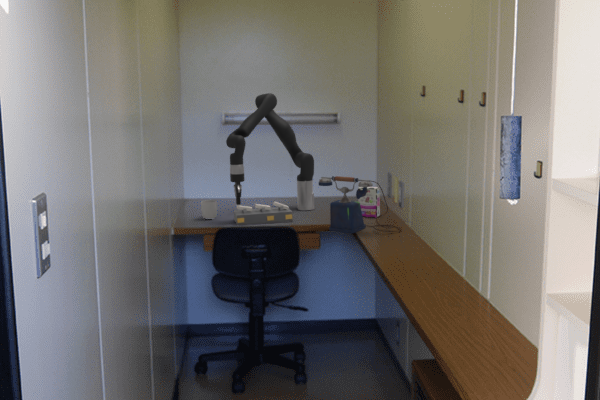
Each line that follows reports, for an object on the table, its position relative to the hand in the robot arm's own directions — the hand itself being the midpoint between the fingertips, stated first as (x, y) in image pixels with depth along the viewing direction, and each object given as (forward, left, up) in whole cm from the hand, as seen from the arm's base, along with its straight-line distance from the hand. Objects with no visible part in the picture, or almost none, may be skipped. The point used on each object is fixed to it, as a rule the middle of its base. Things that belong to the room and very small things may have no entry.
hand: (238, 204), depth 342 cm
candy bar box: (-71, +8, -10) cm, 72 cm away
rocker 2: (-23, 0, -3) cm, 23 cm away
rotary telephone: (-57, +36, -10) cm, 69 cm away
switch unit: (-13, 0, -10) cm, 16 cm away
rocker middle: (-13, 0, -3) cm, 13 cm away
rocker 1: (-3, 0, -3) cm, 4 cm away
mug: (+15, -17, -10) cm, 25 cm away
